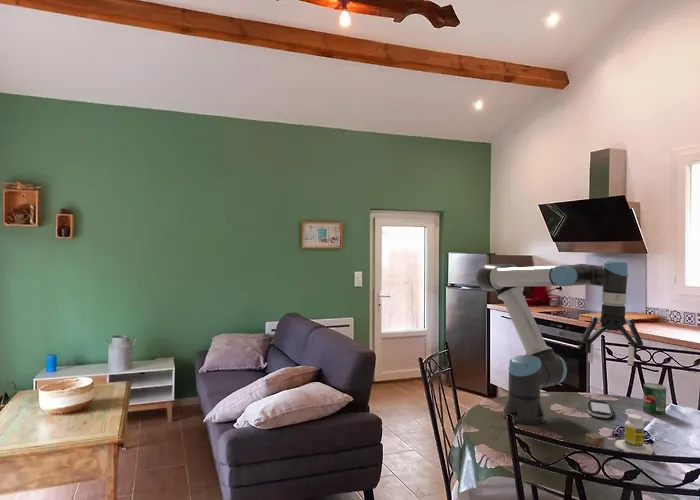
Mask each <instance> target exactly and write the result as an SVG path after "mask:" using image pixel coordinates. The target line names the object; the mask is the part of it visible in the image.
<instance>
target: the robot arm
mask: <svg viewBox="0 0 700 500" xmlns="http://www.w3.org/2000/svg"><path fill="white" fill-rule="evenodd" d="M603 263H604V264H603V265H598V264H597V265H596V264H586V263H575V264H559V265H543V266H538V265H537V266H522V267H521V266H519V267H518V266H517V265H515V264H509V263H502V264H501V263H500V264H498V263H497V264H496V263H495V264H492V263H491V264H485V265H482V267H480V268H479V269H478V270H477V272H476V277H475V279H476V284H477V285H478V287H479V288H481V289H482V290H484V291H485V292H495V294H496V296H497V299H499V300H500V301H501V300H502V302H503V304H504V306H505V308H506V310H507V313H508V314H509V317H510V319H511V322H512V323H513V327H514V329H515V331H516V333H517V335H518V337H519V339H520V340H519V341H520V342H521V344H522V346H523V349H524V351H525V354H524V355H522V354H521V355H514V356H513V357H511V358H510V359H509V365H508V388H507V389H508V393H507V394H508V395H507V399H506V400H505V404H504V406H503V409H502V411H503V412H502V415H503V417H504V418H505V417H506V415H507V414H511V415H512V416H513V419H514V422H513V423H516V424H519V425H520V424H521V425H530V426H531V425H532V426H533V425H541V424H543V423H544V422H545V412H544V410H543V408H544V407H543V406H542V402H541V389H543V388H547V387H555V386H557V385H559V384H561V383H563V382H564V380H565V379H566V376H567V373H568V369H567V368H568V367H567V363H566V362H565V360H564V359H563V358H562V357H561V356H559V355H558V354H555V352H554V350H553V347H550V346H548V345H547V344H546V342H545V340H544V337H543V336H542V333H541V330H540V328H539V327H538V324H537V322H536V320H535V318H534V316H533V313H532V311H531V310H530V307H529V305H528V302H527V300H526V299H525V296H524V294H523V292H524V290H525V287H572V286H597V287H602V294H601V303H602V304H601V313H600V314H601V315H600V316H599V317H597V316H594V315H592V316H591V319H590V322H589V324H588V326H587V328H586V329H585V331H584V332H583V334H582V335H581V337H580V341H581V342H583V343H585V352H586V353H587V362H589V363H592V364H593V363H594V362H593V361H594V344H593V343H594V341H596V340H597V339H598V337H600V336H601V335H602V334H603V333H604V332H605V331H615V332H618V331H619V332H620V333H621V334H622V335H623V336H624V338H625V339H626V340H627V341H628V342H629V344H630V345H628V351H627V352H628V354H627V364H628V365H630V366H634V358H635V357H636V356H637V353H638V348H639V347H642V346H644V342H643V340H642V338H641V336H640V334H639V332H638V329H637V327H636V321H635V319H633V318H630V317H629V318H627V319H626V309H627V308H626V306H625V305H626V303H627V287H628V277H629V273H628V270H629V269H628V267H629V265H628V262H625V261H621V260H620V261H619V260H605V261H604V262H603ZM599 322H600V323H601V324H600V325H599V326H598V328H597V329H595V328H596V326H597V324H598V323H599ZM625 324H626V325H628V327H629V330H630V331H631V334H632V336H633V337H632V336H631V335H630V334H629V332H628V331H627V329H626V328H625V327H624V326H625ZM594 329H595V331H594ZM592 332H593V333H592Z"/></svg>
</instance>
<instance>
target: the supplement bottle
mask: <svg viewBox="0 0 700 500" xmlns="http://www.w3.org/2000/svg"><path fill="white" fill-rule="evenodd" d="M642 417H643V416H640V415H638V414H627V420H626V421H625V423H624V439H623V440H624V443H625V444H626V445H627V446H629V447H632V448H642V447H643V443H644V433H645V432H644V431H645V426H644V424H643V423H642V419H643V418H642Z"/></svg>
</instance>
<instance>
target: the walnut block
mask: <svg viewBox="0 0 700 500" xmlns="http://www.w3.org/2000/svg"><path fill="white" fill-rule="evenodd" d="M584 435H585V436H584V446H585V445H590V446H595V447H600V448H604V449H605V437H604V436H601V435H600V434H598V433H596V432H593V433H585V434H584Z"/></svg>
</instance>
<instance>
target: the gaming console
mask: <svg viewBox="0 0 700 500" xmlns="http://www.w3.org/2000/svg"><path fill="white" fill-rule="evenodd" d="M586 409H587V413H588V415H590V416H591V417H593V418H596V419H600V420H601V419H603V420H611V419H613V418H614V412H613V409H612V406H611V404H610V403H609V402H607V401H603V400H598V399H589V400H587V401H586Z"/></svg>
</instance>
